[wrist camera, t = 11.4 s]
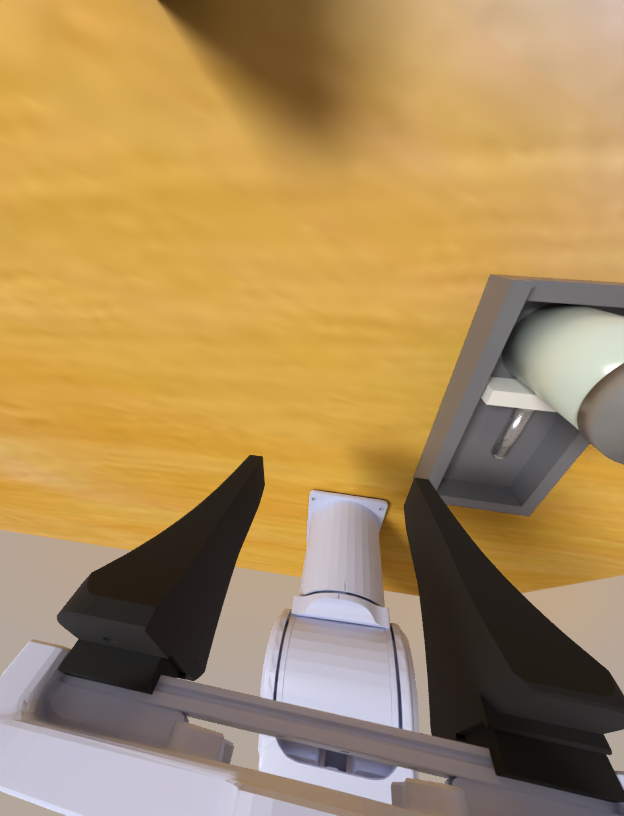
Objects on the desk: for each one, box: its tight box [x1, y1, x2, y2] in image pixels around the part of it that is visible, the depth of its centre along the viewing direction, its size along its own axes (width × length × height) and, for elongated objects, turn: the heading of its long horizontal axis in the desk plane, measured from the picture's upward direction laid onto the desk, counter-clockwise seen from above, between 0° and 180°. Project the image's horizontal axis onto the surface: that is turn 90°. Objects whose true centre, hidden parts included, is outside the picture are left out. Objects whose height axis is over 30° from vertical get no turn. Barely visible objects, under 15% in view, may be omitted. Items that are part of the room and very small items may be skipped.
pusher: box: [481, 377, 557, 460], centre depth 18 cm, size 6×6×2 cm
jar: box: [501, 303, 624, 464], centre depth 13 cm, size 5×5×8 cm
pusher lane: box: [413, 274, 624, 516], centre depth 18 cm, size 17×9×3 cm, turn 177°
